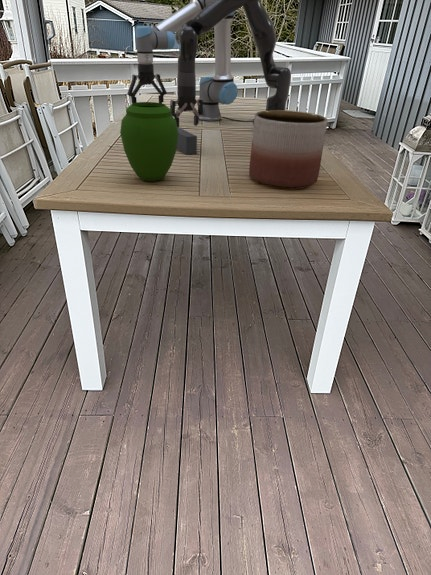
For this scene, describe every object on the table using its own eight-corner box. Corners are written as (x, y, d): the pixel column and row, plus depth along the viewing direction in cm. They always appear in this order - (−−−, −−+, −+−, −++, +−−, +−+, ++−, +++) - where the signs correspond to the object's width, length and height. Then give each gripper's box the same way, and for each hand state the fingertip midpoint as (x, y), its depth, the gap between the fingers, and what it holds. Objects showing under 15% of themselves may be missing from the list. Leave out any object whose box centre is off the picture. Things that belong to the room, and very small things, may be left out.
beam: (141, 128, 218) (140, 113, 214) (150, 128, 220) (150, 113, 216) (186, 154, 177) (186, 136, 173) (196, 153, 179) (197, 136, 175)
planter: (327, 190, 144) (341, 124, 132) (258, 191, 139) (265, 122, 128) (303, 169, 165) (312, 110, 153) (241, 169, 161) (246, 109, 149)
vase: (131, 189, 135) (125, 110, 122) (118, 172, 150) (112, 100, 137) (186, 184, 142) (187, 109, 129) (169, 168, 157) (167, 99, 144)
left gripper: (123, 64, 192) (127, 112, 203) (172, 63, 202) (173, 109, 213) (118, 63, 197) (122, 110, 209) (166, 62, 207) (167, 107, 219)
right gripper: (174, 85, 161) (174, 129, 170) (206, 85, 167) (205, 126, 176) (166, 83, 166) (167, 125, 175) (198, 82, 172) (197, 123, 181)
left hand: (148, 110), depth 211 cm, fingers open, 13 cm apart
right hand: (186, 126), depth 175 cm, fingers open, 8 cm apart
